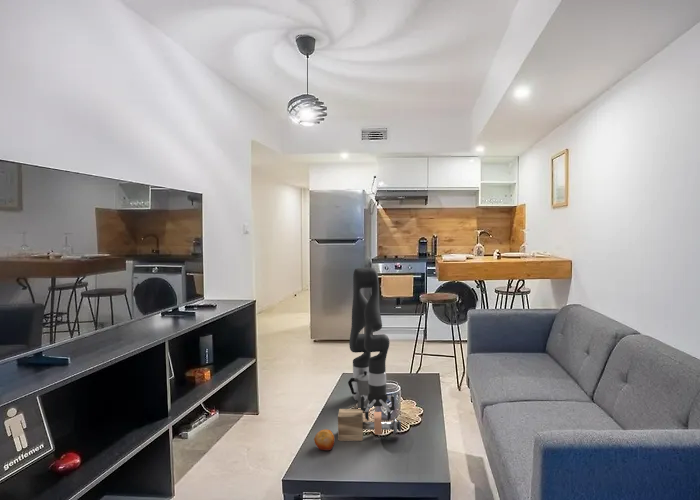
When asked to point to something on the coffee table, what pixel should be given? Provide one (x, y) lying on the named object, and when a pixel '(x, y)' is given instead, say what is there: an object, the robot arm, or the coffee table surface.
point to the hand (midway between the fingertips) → (377, 419)
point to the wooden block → (350, 425)
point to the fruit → (324, 440)
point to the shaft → (384, 425)
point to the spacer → (377, 422)
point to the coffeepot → (360, 387)
